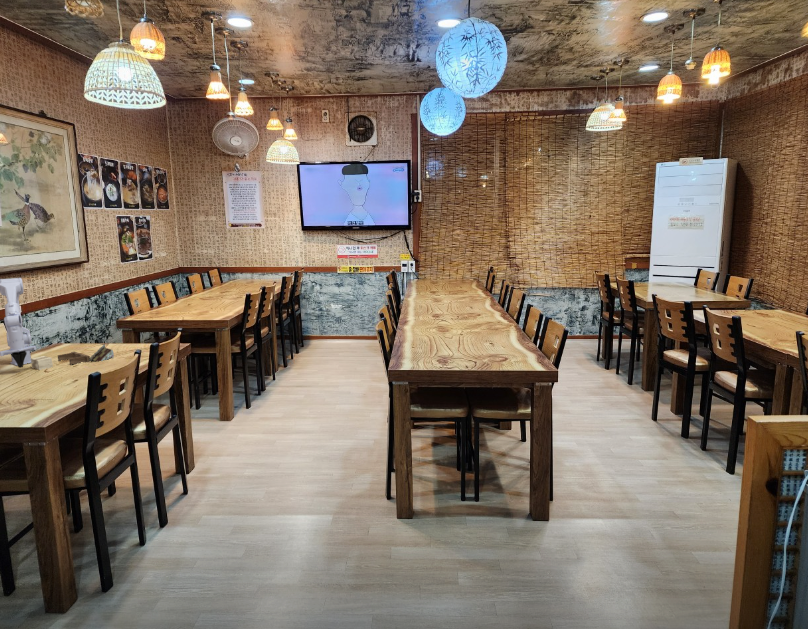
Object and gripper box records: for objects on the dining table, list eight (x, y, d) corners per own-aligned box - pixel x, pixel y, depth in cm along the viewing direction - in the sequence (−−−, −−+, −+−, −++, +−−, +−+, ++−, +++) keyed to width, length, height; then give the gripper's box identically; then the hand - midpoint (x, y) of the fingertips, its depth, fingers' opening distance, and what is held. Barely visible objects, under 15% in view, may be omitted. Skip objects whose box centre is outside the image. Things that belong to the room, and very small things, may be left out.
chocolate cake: (100, 364, 265) (113, 344, 272) (88, 360, 266) (101, 340, 272) (107, 372, 273) (120, 352, 280) (95, 368, 274) (108, 349, 280)
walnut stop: (57, 360, 272) (56, 354, 271) (74, 356, 278) (74, 351, 278) (72, 365, 261) (71, 359, 261) (90, 361, 268) (89, 355, 268)
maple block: (32, 368, 258) (30, 358, 257) (45, 365, 263) (44, 355, 262) (39, 370, 254) (37, 360, 253) (53, 367, 259) (51, 357, 258)
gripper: (1, 343, 240) (5, 372, 243) (37, 337, 252) (41, 364, 254) (-5, 342, 244) (0, 369, 247) (31, 336, 256) (35, 362, 258)
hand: (20, 367), depth 251 cm, fingers closed
